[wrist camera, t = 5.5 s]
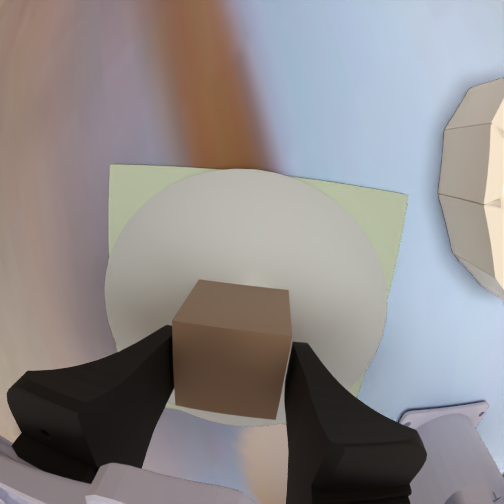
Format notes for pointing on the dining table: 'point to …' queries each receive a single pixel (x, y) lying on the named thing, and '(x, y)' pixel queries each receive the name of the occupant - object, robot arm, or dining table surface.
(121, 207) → the mat
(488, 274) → the bowl
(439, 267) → the dining table surface
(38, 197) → the dining table surface
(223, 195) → the cover
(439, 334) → the dining table surface
